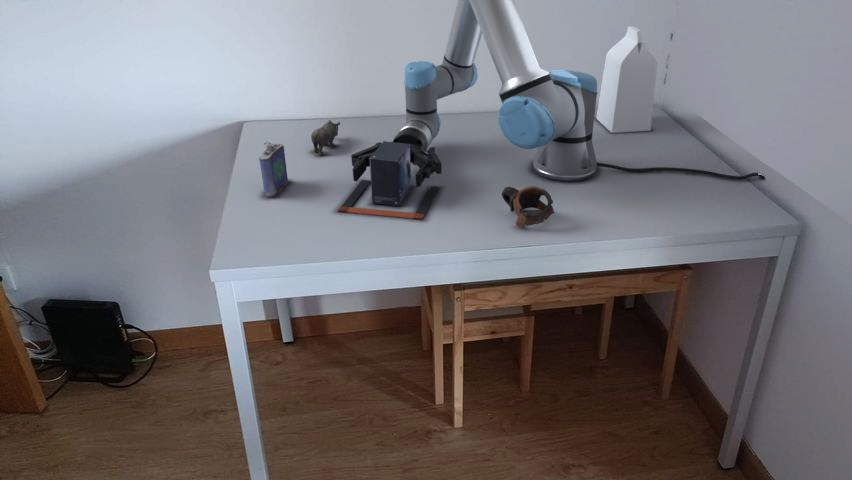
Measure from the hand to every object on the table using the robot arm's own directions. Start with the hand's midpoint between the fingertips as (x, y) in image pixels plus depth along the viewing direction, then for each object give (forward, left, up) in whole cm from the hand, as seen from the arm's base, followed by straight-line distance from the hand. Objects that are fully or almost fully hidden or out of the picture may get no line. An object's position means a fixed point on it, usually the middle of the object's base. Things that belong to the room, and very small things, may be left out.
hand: (386, 178), depth 145 cm
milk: (-50, -63, -6) cm, 81 cm away
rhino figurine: (+24, -29, -6) cm, 38 cm away
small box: (0, -4, -6) cm, 8 cm away
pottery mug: (-30, +1, -6) cm, 31 cm away
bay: (0, -2, -6) cm, 6 cm away
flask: (+26, -2, -6) cm, 27 cm away
